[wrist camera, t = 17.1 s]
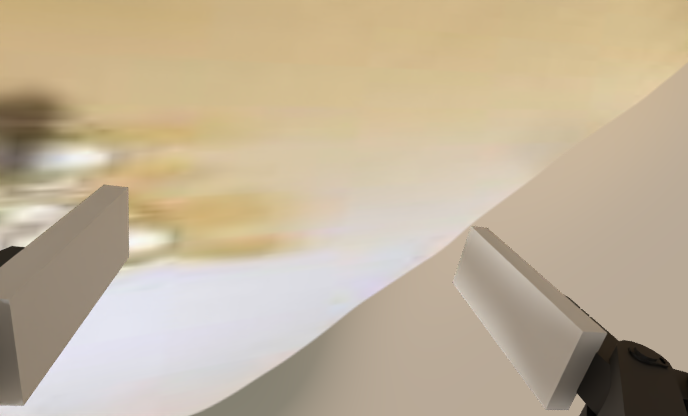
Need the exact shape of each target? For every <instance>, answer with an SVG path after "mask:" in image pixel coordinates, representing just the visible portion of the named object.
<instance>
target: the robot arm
mask: <svg viewBox="0 0 688 416" xmlns="http://www.w3.org/2000/svg"><path fill="white" fill-rule="evenodd" d="M128 258H129V214H128V187H120V186H111V185H103V186H102V187H100V188H99V189H98V190H97V191H95V192H94V193H93V194H92V195H90V196H89V197H88V198H87V199H85V200H84V201H83V202H82V203H80V204H79V205H78V206H77V207H75V208H74V209H73V210H72V211H70V212H69V213H68V214H67V215H65V216H64V217H63V218H61V219H60V220H59V221H58V222H56V223H55V224H54V225H53V226H51V227H50V228H49V229H48V230H46V231H45V232H44V233H43V234H41V235H40V236H39V237H38V238H36V239H35V240H34V241H33V242H31V243H30V244H29V245H28V246H26V247H15V246H11V247H9V248H6V249H4V250H1V251H0V405H11V406H24V404H25V403H26V402H27V400H28V399H29V397H30V396H31V395H32V393H33V392H34V390H35V389H36V387H37V386H38V385H39V383H40V382H41V380H42V379H43V378H44V376H45V375H46V373H47V372H48V371H49V369H50V368H51V366H52V365H53V363H54V362H55V361H56V359H57V358H58V356H59V355H60V354H61V352H62V351H63V349H64V348H65V347H66V345H67V344H68V342H69V341H70V340H71V338H72V337H73V335H74V334H75V332H76V331H77V330H78V328H79V327H80V325H81V324H82V323H83V321H84V320H85V318H86V317H87V316H88V314H89V313H90V311H91V310H92V308H93V307H94V306H95V304H96V303H97V301H98V300H99V299H100V297H101V296H102V294H103V293H104V292H105V290H106V289H107V287H108V286H109V284H110V283H111V282H112V280H113V279H114V277H115V276H116V275H117V273H118V272H119V270H120V269H121V268H122V266H123V265H124V263H125V262H126V261H127V259H128ZM453 284H454V285H455V287H456V288H457V290H458V291H459V292H460V294H461V295H462V296H463V298H464V299H465V300H466V302H467V303H468V305H469V306H470V307H471V309H472V310H473V311H474V313H475V314H476V315H477V317H478V318H479V320H480V321H481V322H482V323H483V325H484V326H485V328H486V329H487V331H488V332H489V333H490V334H491V336H492V337H493V339H494V340H495V341H496V343H497V344H498V345H499V347H500V348H501V350H502V351H503V352H504V354H505V355H506V356H507V358H508V359H509V361H510V362H511V363H512V365H513V366H514V367H515V369H516V370H517V371H518V373H519V374H520V376H521V377H522V378H523V380H524V381H525V382H526V384H527V385H528V387H529V388H530V389H531V390H532V392H533V393H534V395H535V396H536V397H537V399H538V400H539V402H540V403H541V404H542V406H543V407H544V408H545V409H546V410H569V408H570V406H571V404H572V402H573V400H574V398H575V396H576V394H578V395H579V396H580V397H581V398H582V399H583V401H584V402H585V403H586V404H585V407H584V408H583V410H582V412H581V414H580V416H688V373H686V372H683V371H679V370H675V369H673V368H672V367H671V365H670V363H669V362H668V361H667V360H666V359H664V358H663V357H662V356H661V355H659V354H658V353H656V352H655V351H653V350H651V349H649V348H647V347H645V346H643V345H641V344H638V343H635V342H632V341H625V340H623V341H618V340H617V339H616V338H615V337H614V336H612V335H611V334H610V333H609V332H608V331H607V330H605V329H604V328H603V327H602V326H601V325H600V324H599V323H597V322H596V321H595V320H594V319H593V318H592V317H589V315H588V314H587V313H586V312H585V311H584V310H582V309H580V307H579V306H578V305H577V304H576V303H574V302H573V301H572V300H571V299H570V298H569V297H567V296H565V295H564V294H562V293H561V292H560V291H559V290H558V289H556V288H555V287H554V286H553V285H552V284H551V283H550V282H548V281H547V280H546V279H545V278H544V277H543V276H542V275H541V274H539V273H538V272H537V271H536V270H535V269H534V268H532V267H531V266H530V265H529V264H528V263H527V262H526V261H525V260H523V259H522V258H521V257H520V256H519V255H518V254H517V253H515V252H514V251H513V250H512V249H510V247H509V246H507V245H506V244H505V243H504V242H503V241H502V240H501V239H499V238H498V237H497V236H496V235H495V234H494V233H493V232H491V231H490V230H489V229H488V228H484V227H475V226H471V227H470V231H469V233H468V236H467V239H466V243H465V246H464V249H463V252H462V255H461V258H460V261H459V264H458V267H457V271H456V274H455V277H454V280H453Z"/></svg>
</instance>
